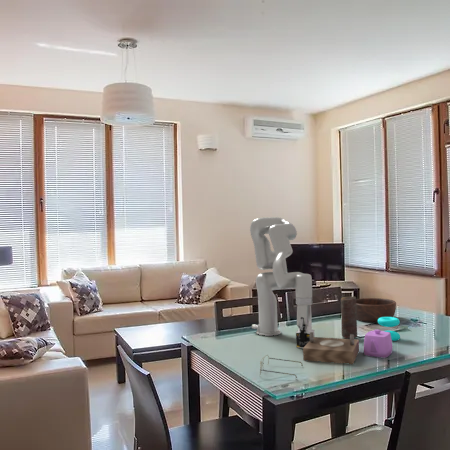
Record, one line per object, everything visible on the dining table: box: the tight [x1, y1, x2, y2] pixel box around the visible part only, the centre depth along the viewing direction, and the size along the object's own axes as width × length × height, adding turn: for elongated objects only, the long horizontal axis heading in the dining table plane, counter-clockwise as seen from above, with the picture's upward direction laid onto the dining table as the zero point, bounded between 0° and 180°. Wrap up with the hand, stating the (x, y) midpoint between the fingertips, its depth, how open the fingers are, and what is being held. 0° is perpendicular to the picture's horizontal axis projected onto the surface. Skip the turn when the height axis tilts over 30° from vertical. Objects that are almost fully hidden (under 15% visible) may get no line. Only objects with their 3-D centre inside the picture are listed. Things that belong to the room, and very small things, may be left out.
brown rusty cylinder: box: [340, 296, 358, 339], centre depth 227 cm, size 8×7×20 cm
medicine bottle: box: [295, 320, 316, 349], centre depth 215 cm, size 7×7×12 cm
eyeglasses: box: [259, 354, 304, 379], centre depth 180 cm, size 16×15×5 cm
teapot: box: [363, 328, 393, 359], centre depth 199 cm, size 18×10×10 cm, turn 146°
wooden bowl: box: [356, 297, 397, 323], centre depth 270 cm, size 25×25×10 cm
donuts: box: [377, 316, 401, 342], centre depth 223 cm, size 10×10×10 cm
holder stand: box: [302, 332, 360, 365], centre depth 199 cm, size 20×20×9 cm
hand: (305, 339), depth 215 cm, fingers closed on medicine bottle, 7 cm apart
